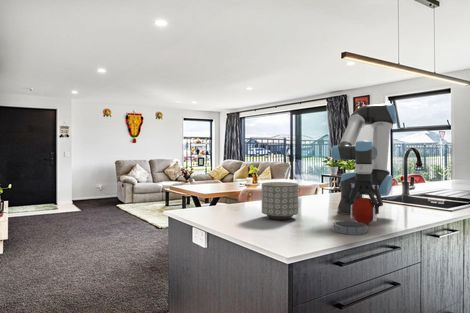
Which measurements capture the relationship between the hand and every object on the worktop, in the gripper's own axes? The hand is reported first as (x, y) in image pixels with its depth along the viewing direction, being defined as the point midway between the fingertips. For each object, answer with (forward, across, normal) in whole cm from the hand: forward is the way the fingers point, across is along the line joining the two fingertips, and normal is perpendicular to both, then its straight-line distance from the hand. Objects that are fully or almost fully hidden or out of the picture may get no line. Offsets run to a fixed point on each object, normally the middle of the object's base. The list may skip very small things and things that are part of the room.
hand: (363, 219), depth 162 cm
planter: (+3, -38, -15) cm, 41 cm away
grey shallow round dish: (+2, +1, -18) cm, 18 cm away
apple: (+2, 0, 0) cm, 2 cm away
